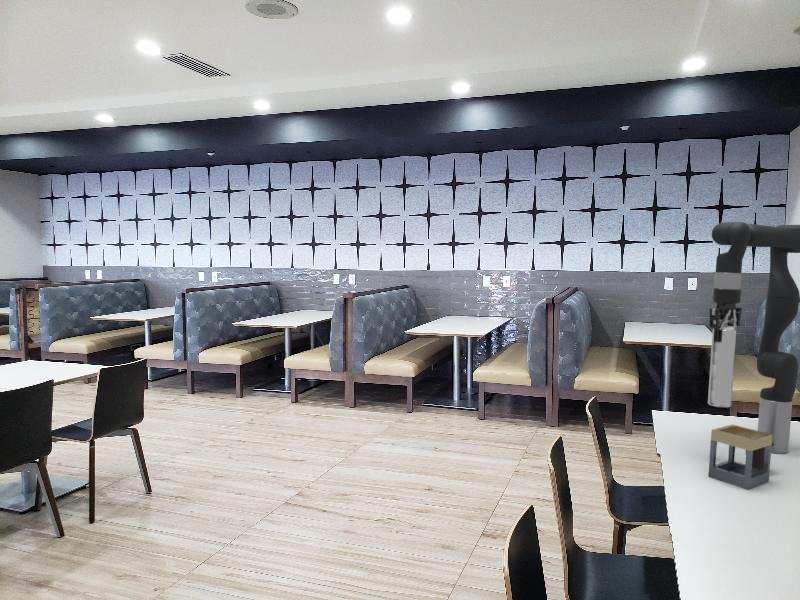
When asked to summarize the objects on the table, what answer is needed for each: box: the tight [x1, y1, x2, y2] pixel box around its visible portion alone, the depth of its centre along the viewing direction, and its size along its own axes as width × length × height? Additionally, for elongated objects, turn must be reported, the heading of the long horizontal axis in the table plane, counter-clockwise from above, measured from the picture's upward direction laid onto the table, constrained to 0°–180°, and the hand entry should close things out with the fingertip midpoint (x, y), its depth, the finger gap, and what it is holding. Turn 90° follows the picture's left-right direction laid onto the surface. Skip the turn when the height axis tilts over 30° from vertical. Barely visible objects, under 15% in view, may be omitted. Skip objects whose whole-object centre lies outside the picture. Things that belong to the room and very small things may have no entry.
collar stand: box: [708, 423, 772, 490], centre depth 178 cm, size 11×11×14 cm
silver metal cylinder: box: [707, 324, 737, 408], centre depth 191 cm, size 6×6×25 cm
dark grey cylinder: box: [752, 442, 774, 470], centre depth 186 cm, size 8×8×10 cm
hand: (723, 340), depth 190 cm, fingers closed on silver metal cylinder, 6 cm apart
